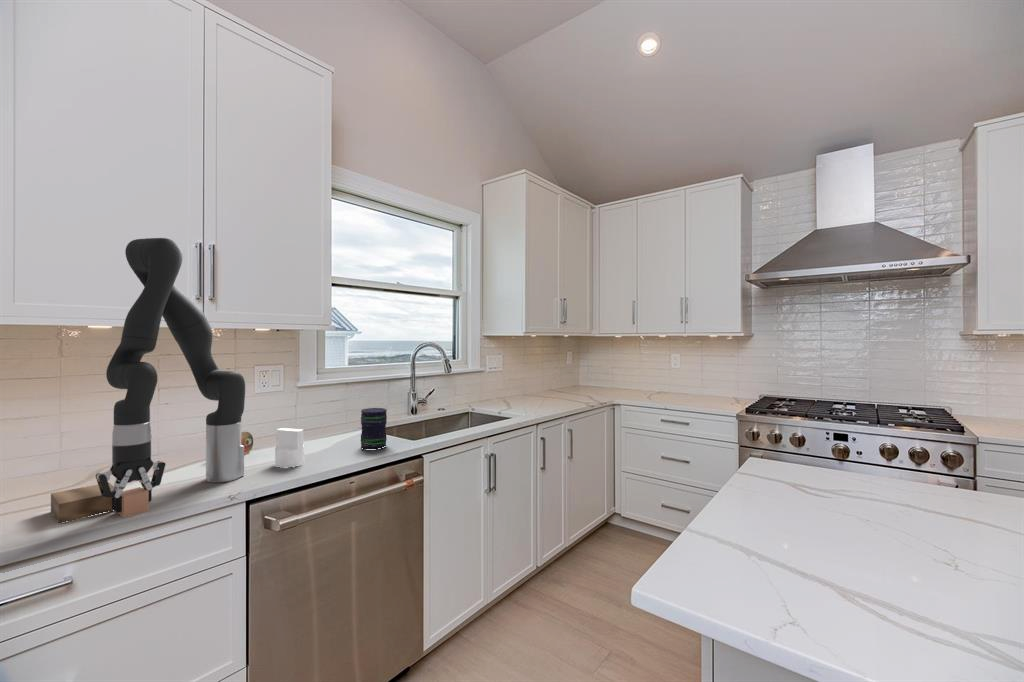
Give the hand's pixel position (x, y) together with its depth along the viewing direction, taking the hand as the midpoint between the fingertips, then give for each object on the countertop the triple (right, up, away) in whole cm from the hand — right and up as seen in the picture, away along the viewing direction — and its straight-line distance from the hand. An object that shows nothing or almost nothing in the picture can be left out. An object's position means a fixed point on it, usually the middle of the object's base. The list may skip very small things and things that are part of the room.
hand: (132, 507), depth 115 cm
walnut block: (-12, -1, 0) cm, 12 cm away
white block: (+19, -1, +42) cm, 46 cm away
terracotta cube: (0, -1, 0) cm, 1 cm away
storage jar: (+41, -1, +67) cm, 78 cm away
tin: (-5, 0, +51) cm, 51 cm away
